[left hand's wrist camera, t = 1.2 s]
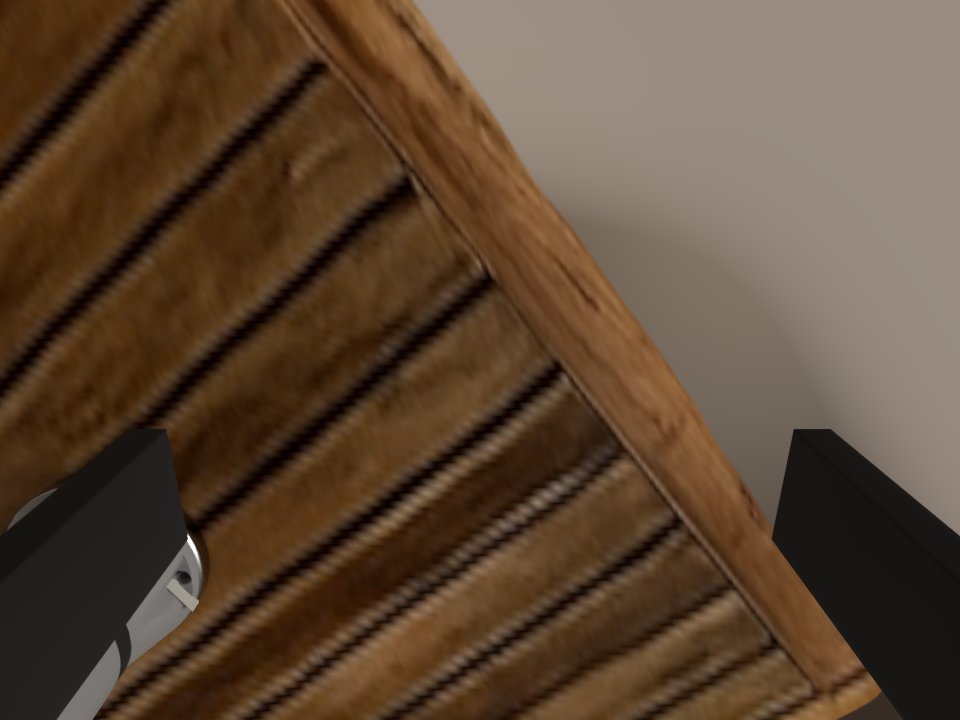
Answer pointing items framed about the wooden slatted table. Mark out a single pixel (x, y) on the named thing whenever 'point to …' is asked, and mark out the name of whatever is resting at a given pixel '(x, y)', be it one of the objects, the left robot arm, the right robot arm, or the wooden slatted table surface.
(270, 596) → the wooden slatted table surface
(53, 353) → the wooden slatted table surface
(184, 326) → the wooden slatted table surface
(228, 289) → the wooden slatted table surface
